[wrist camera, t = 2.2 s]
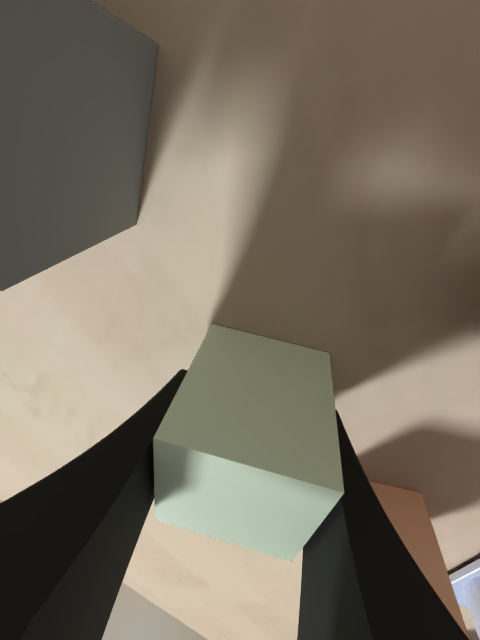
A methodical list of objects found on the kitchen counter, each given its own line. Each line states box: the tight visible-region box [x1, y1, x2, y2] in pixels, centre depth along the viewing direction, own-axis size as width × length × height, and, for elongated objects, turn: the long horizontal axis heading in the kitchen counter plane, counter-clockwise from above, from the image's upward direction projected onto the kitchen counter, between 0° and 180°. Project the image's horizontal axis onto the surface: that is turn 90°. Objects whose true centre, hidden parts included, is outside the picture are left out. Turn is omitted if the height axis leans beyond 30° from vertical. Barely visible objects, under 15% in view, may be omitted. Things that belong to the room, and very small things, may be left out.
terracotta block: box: [369, 481, 470, 640], centre depth 13 cm, size 4×4×5 cm
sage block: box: [153, 324, 344, 562], centre depth 10 cm, size 4×4×5 cm
